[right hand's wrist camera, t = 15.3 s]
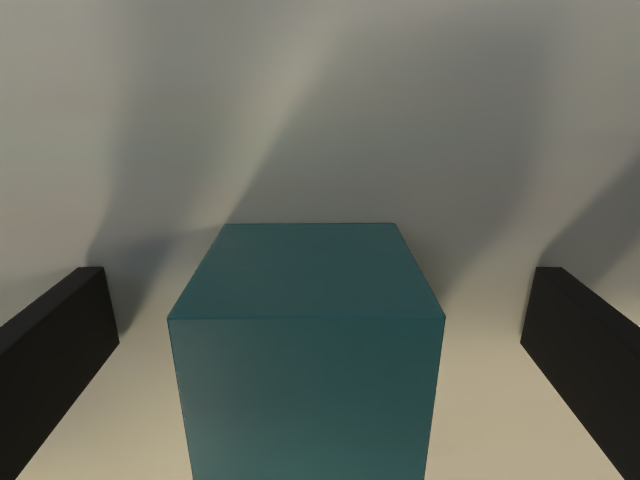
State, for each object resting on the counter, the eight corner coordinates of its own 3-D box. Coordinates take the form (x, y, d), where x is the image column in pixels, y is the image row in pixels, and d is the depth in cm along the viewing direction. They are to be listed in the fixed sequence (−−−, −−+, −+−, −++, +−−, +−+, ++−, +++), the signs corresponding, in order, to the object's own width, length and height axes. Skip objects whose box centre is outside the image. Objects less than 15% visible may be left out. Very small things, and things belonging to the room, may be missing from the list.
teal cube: (385, 362, 14) (421, 507, 9) (237, 363, 14) (197, 510, 9) (395, 222, 12) (447, 315, 7) (224, 223, 12) (165, 317, 7)
